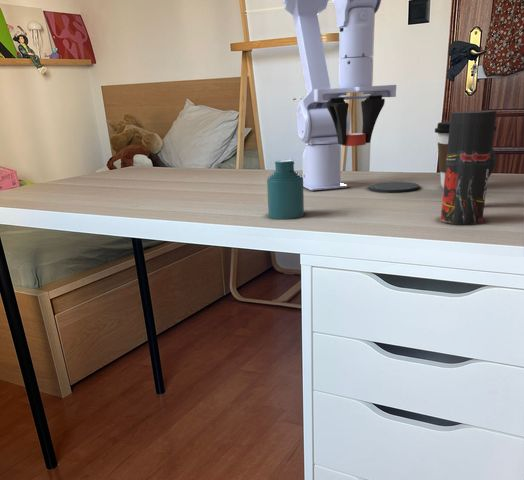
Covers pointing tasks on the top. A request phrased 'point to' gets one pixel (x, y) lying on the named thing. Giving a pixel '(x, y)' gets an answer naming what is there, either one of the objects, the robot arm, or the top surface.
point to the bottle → (285, 191)
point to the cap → (355, 139)
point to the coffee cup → (443, 146)
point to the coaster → (393, 187)
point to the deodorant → (467, 166)
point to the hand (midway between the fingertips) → (353, 143)
